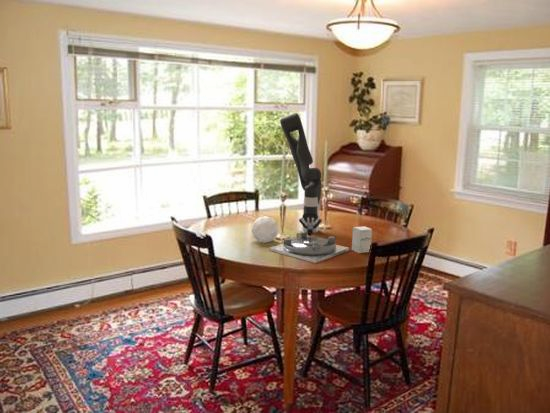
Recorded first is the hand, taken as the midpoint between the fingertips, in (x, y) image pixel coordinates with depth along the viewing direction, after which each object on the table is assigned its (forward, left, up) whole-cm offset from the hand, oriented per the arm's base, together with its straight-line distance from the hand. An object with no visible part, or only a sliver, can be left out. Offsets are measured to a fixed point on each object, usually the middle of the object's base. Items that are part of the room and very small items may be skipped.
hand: (309, 235), depth 277 cm
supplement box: (-9, +27, -5) cm, 29 cm away
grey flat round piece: (+10, +7, -3) cm, 13 cm away
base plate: (+10, +7, -5) cm, 13 cm away
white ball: (+14, -21, -5) cm, 25 cm away
